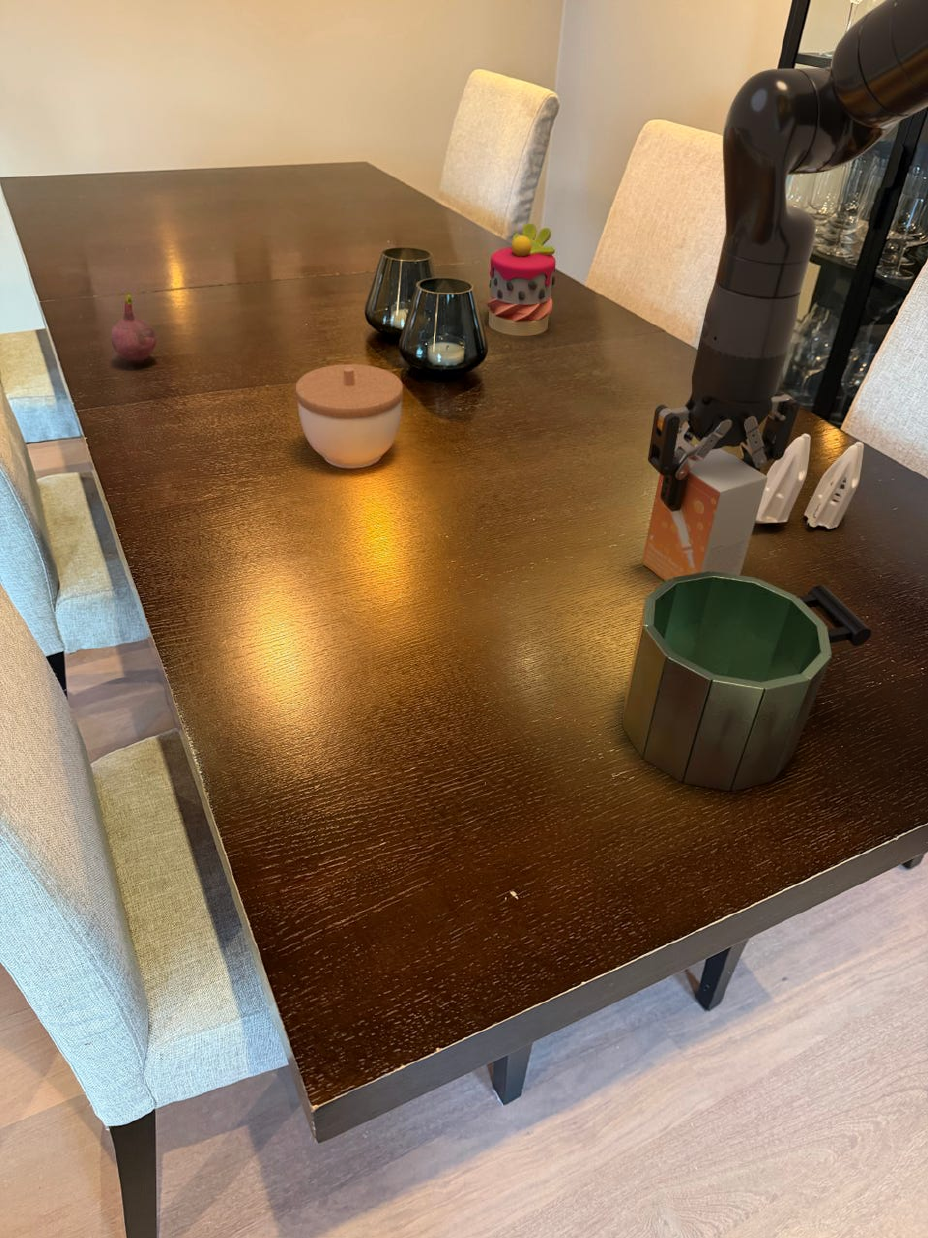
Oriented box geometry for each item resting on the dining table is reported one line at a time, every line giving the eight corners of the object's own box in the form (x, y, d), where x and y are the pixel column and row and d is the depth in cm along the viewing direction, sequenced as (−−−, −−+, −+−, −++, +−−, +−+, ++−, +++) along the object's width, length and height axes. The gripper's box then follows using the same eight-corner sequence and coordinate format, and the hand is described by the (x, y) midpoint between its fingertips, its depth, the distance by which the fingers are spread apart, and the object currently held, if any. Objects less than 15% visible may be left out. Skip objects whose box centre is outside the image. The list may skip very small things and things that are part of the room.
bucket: (596, 687, 79) (768, 652, 84) (672, 806, 69) (863, 759, 73) (614, 587, 72) (800, 555, 77) (701, 703, 62) (910, 658, 67)
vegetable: (144, 375, 126) (131, 305, 120) (107, 368, 128) (91, 298, 121) (168, 359, 131) (156, 291, 125) (132, 353, 132) (118, 284, 126)
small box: (639, 564, 94) (661, 453, 86) (684, 548, 97) (709, 439, 89) (692, 605, 89) (721, 491, 81) (738, 587, 92) (770, 475, 84)
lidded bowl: (414, 473, 107) (414, 387, 101) (309, 485, 104) (302, 396, 98) (391, 426, 117) (390, 344, 110) (294, 436, 114) (286, 352, 107)
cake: (544, 340, 143) (554, 241, 133) (480, 331, 144) (485, 234, 135) (554, 317, 151) (564, 223, 141) (493, 310, 152) (499, 216, 143)
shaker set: (752, 536, 99) (777, 446, 93) (737, 516, 103) (760, 428, 96) (851, 530, 101) (883, 441, 94) (833, 510, 104) (863, 423, 98)
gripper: (693, 361, 73) (658, 533, 83) (841, 346, 76) (790, 512, 87) (650, 328, 78) (622, 492, 88) (790, 315, 82) (748, 474, 92)
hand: (705, 501), depth 88 cm, fingers closed on small box, 7 cm apart
